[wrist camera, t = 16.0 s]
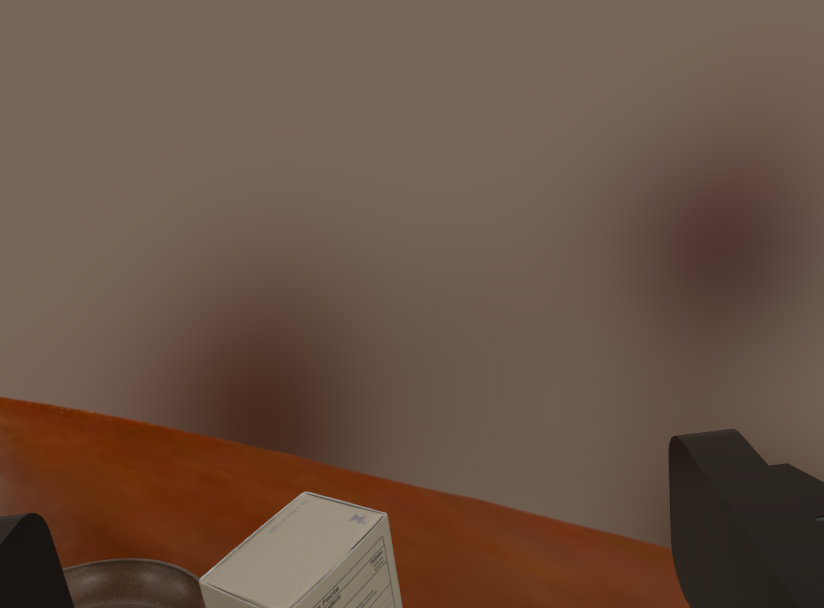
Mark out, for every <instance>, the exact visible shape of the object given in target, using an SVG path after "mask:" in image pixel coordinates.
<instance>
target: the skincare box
mask: <svg viewBox="0 0 824 608" xmlns="http://www.w3.org/2000/svg"><path fill="white" fill-rule="evenodd" d="M199 584H200V588H201V592H202V596H203V599H204V603H205V607H206V608H402V601H401V596H400V589H399V584H398V577H397V571H396V566H395V559H394V553H393V547H392V540H391V534H390V528H389V522H388V516H387V513H385V512H380V511H376V510H373V509H370V508H366V507H362V506H359V505H356V504H351V503H348V502H345V501H341V500H337V499H334V498H330V497H325V496H322V495H318V494H314V493H311V492H303V493H302V494H300V495H299V496H298V497H297V498H296V499H294V500H293V501H292V502H291V503H289V504H288V505H287V506H285V507H284V508H283V509H282V510H281V511H279V512H278V513H277V514H276V515H275V516H273V517H272V518H271V519H270V520H269V521H267V522H266V523H265V524H264V525H263V526H261V527H260V528H259V529H258V530H256V531H255V532H254V533H253V534H252V535H251V536H249V537H248V538H247V539H245V541H244V542H242V543H241V544H240V545H239V546H238V547H236V548H235V549H234V550H233V551H232V552H230V553H229V554H228V555H227V556H226V557H225V558H224V559H222V560H221V561H220V562H219V563H218V564H216V565H215V566H214V567H213V568H212V569H211V570H209V571H208V572H207V573H206V574H205V575H203V576H202V577H201V578H200V579H199Z"/></svg>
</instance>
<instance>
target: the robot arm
mask: <svg viewBox="0 0 824 608" xmlns="http://www.w3.org/2000/svg"><path fill="white" fill-rule="evenodd" d="M669 486H670V518H671V545H672V554H673V560H674V565H675V569H676V573H677V577H678V580H679V583H680V586H681V589H682V591H683V594H684V596H685V598H686V600H687V602H688V604H689V606H690V608H824V482H822V481H820V480H818V479H816V478H814V477H812V476H810V475H809V474H807V473H805V472H803V471H801V470H799V469H797V468H795V467H793V466H791V465H790V464H780V465H771V466H768V465H767V463H765V461H764V460H763V459H762V458H761V457H760V455H759V454H758V453H757V452H756V451H755V450H754V449H753V447H752V446H751V445H750V444H749V443H748V442H747V441H746V440H745V438H744V437H743V436H742V435H741V434H740V433H739V432H738V431H737V430H735V429H727V430H719V431H712V432H703V433H695V434H687V435H679V436H673V437H672V438H671V441H670V444H669ZM0 608H75V607H74V604H73V601H72V598H71V595H70V592H69V589H68V586H67V582H66V579H65V576H64V573H63V570H62V567H61V564H60V561H59V558H58V555H57V552H56V549H55V545H54V542H53V539H52V536H51V533H50V530H49V528H48V525H47V523H46V522H45V520H44V519H43V518H42V517H41V516H40V515H38V514H36V513H27V514H19V515H11V516H2V517H0Z"/></svg>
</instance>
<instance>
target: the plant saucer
mask: <svg viewBox="0 0 824 608" xmlns="http://www.w3.org/2000/svg"><path fill="white" fill-rule="evenodd" d="M62 570H63V573H64V576H65V579H66V582H67V586H68V589H69V592H70V595H71V598H72V601H73V604H74V607H75V608H206V607H205V603H204V599H203V596H202V592H201V588H200V584H199V578H198V577H197V576H196V575H194V574H193V573H191V572H189V571H188V570H186V569H184V568H182V567H179V566H177V565H174V564H171V563H166V562H163V561H158V560H151V559H140V558H124V559H110V560H102V561H96V562H90V563H85V564H80V565H76V566H72V567H68V568H65V569H62Z"/></svg>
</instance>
